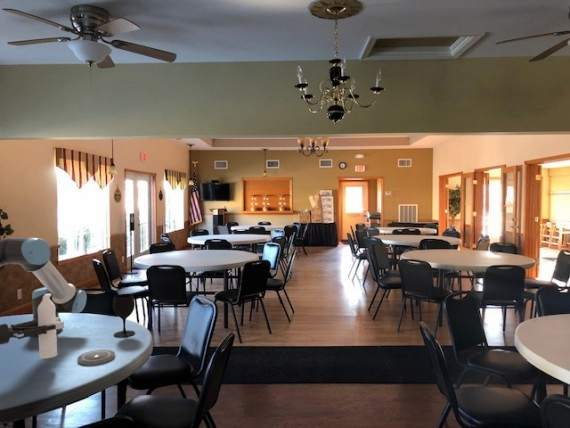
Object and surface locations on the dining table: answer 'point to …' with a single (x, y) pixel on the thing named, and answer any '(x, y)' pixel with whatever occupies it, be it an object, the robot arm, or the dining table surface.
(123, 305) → the wine glass
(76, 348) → the dining table surface
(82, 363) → the slate coaster
